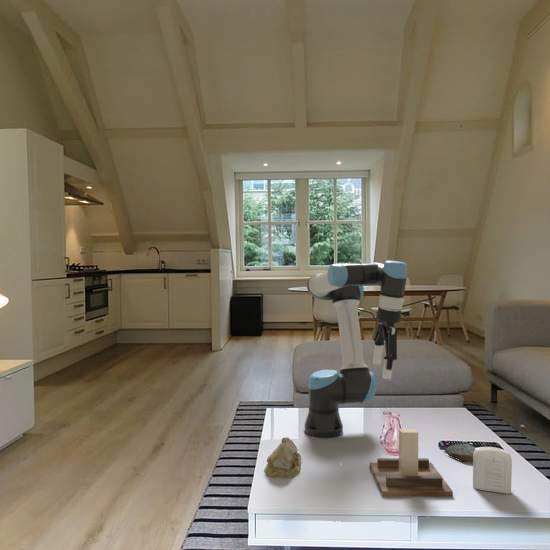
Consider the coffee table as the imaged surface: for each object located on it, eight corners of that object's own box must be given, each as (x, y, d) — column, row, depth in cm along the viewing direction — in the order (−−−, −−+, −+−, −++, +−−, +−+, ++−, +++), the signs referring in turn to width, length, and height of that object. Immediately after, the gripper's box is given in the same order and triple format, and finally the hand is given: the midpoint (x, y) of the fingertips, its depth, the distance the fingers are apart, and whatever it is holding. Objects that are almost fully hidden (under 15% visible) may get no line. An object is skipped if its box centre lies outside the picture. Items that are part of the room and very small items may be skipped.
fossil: (473, 468, 143) (473, 456, 143) (438, 453, 154) (439, 442, 154) (490, 460, 149) (490, 448, 149) (455, 446, 159) (455, 435, 159)
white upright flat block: (509, 488, 129) (510, 446, 129) (512, 495, 125) (513, 453, 125) (471, 483, 132) (472, 442, 132) (473, 490, 128) (474, 448, 128)
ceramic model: (294, 481, 134) (294, 449, 134) (260, 475, 138) (260, 444, 138) (306, 461, 148) (306, 432, 147) (275, 456, 151) (274, 428, 151)
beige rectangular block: (398, 473, 136) (398, 428, 135) (415, 473, 136) (415, 428, 135) (401, 478, 133) (401, 432, 132) (418, 478, 133) (418, 432, 132)
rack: (369, 467, 143) (369, 454, 143) (431, 467, 143) (431, 454, 143) (382, 496, 125) (382, 482, 125) (452, 496, 125) (452, 482, 125)
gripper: (413, 318, 130) (403, 386, 133) (391, 301, 155) (383, 359, 158) (388, 316, 130) (379, 384, 133) (370, 299, 155) (362, 357, 158)
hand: (381, 370), depth 146 cm, fingers open, 13 cm apart
